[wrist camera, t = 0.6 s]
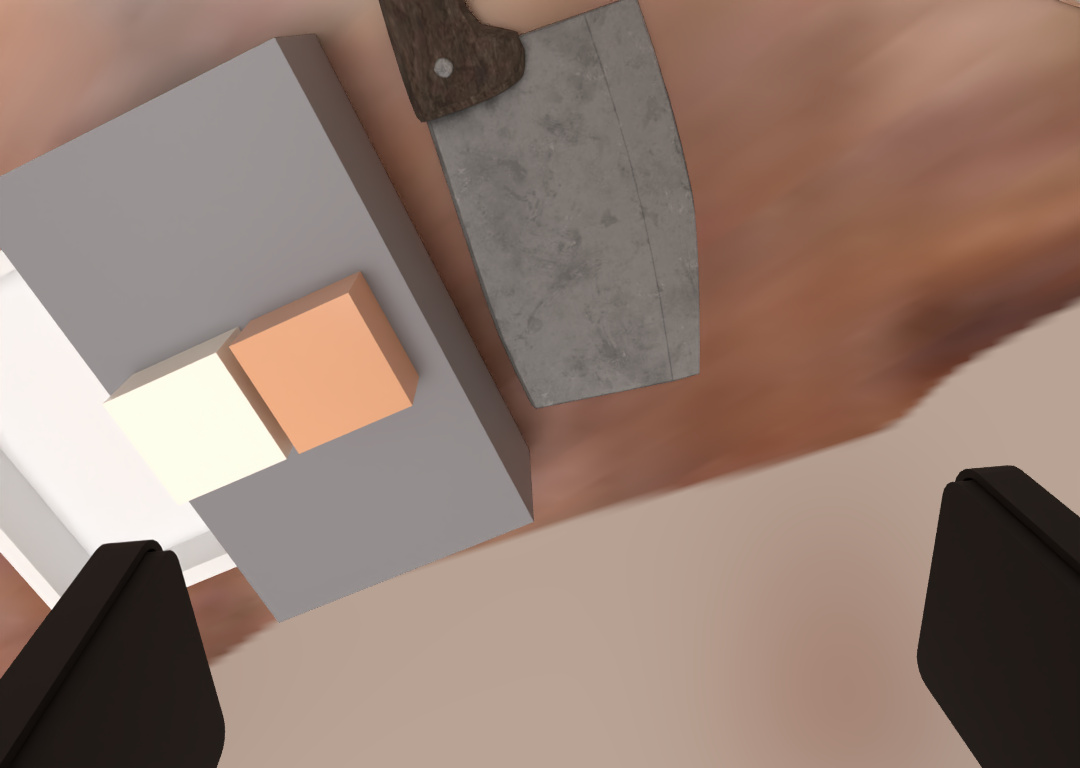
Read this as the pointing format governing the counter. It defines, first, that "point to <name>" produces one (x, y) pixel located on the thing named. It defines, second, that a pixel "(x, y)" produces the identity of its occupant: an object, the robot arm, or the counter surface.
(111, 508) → the box
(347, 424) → the terracotta tile
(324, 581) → the block
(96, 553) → the robot arm
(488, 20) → the counter surface
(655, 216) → the cleaver
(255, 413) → the cream tile
